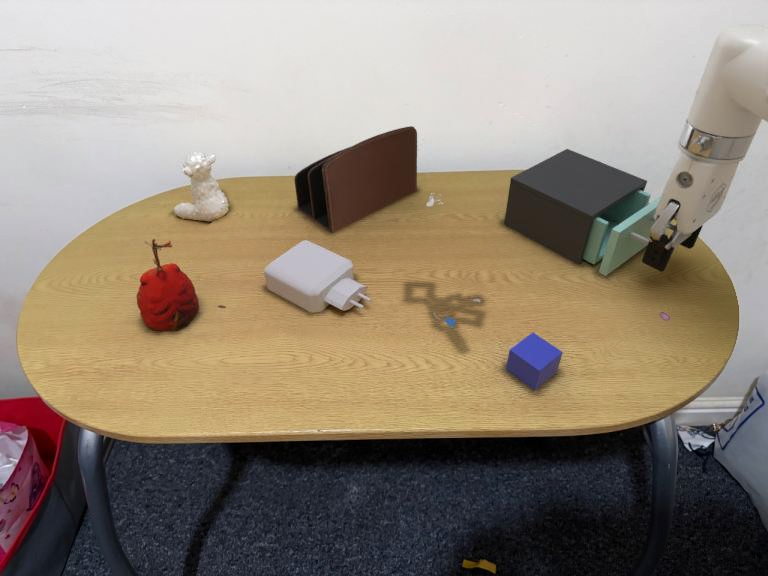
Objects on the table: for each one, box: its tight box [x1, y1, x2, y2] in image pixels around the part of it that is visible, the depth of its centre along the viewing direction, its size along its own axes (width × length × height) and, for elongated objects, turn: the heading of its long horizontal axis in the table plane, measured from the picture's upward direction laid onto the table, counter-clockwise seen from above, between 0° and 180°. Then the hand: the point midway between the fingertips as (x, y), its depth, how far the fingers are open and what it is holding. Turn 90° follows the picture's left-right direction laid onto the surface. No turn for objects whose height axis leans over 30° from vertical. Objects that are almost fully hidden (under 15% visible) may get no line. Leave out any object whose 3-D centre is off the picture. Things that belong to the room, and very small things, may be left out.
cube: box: [505, 332, 564, 391], centre depth 64 cm, size 4×4×4 cm
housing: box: [503, 148, 648, 266], centre depth 86 cm, size 15×15×10 cm
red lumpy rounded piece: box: [136, 238, 200, 332], centre depth 70 cm, size 8×7×15 cm
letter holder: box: [293, 125, 418, 234], centre depth 92 cm, size 10×20×14 cm, turn 131°
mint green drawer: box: [582, 190, 692, 277], centre depth 81 cm, size 19×13×8 cm
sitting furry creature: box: [173, 151, 230, 223], centre depth 91 cm, size 10×9×12 cm
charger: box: [263, 239, 372, 314], centre depth 76 cm, size 5×9×15 cm
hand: (667, 254), depth 76 cm, fingers closed on mint green drawer, 7 cm apart
